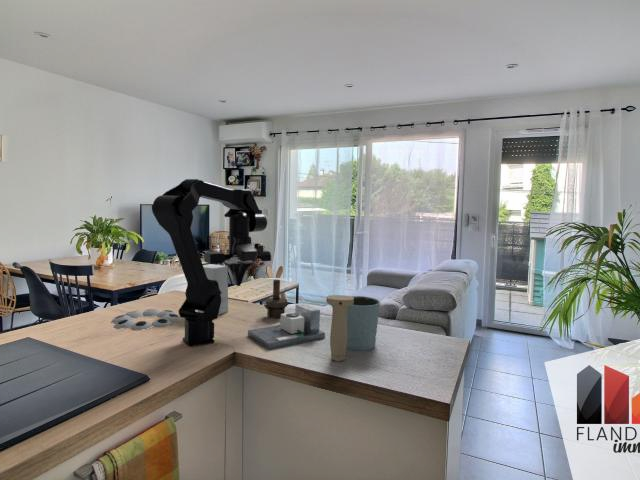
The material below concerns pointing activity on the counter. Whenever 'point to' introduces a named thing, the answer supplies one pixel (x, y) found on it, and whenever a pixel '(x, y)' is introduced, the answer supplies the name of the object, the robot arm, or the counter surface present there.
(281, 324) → the white box with dome
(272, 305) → the industrial component
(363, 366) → the counter surface
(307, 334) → the bench
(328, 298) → the handle
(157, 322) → the grey flat openwork piece
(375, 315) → the teal cup
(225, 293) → the skincare box
